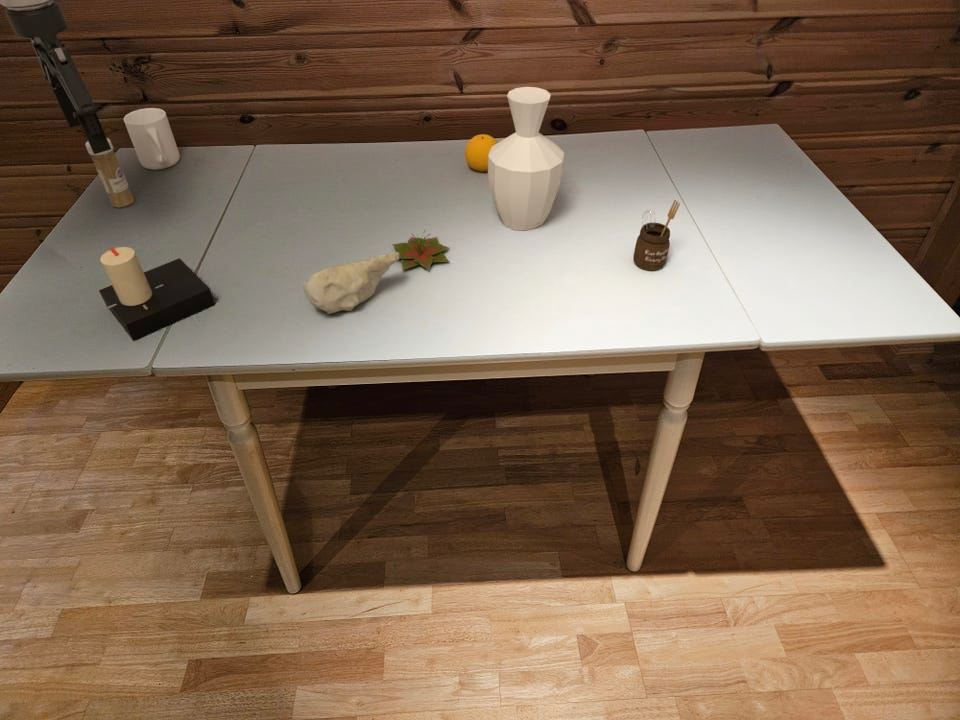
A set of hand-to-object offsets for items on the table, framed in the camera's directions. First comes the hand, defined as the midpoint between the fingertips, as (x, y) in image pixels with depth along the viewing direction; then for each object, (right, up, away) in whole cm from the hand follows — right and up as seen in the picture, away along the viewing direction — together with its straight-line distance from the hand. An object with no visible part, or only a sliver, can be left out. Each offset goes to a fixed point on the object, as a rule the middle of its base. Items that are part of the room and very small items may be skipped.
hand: (89, 137), depth 114 cm
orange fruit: (+69, +4, +34) cm, 77 cm away
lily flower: (+57, -19, +8) cm, 61 cm away
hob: (+14, -30, -2) cm, 33 cm away
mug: (-4, +5, +35) cm, 36 cm away
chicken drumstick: (+46, -28, -1) cm, 54 cm away
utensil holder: (+99, -21, +7) cm, 102 cm away
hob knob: (+11, -28, -6) cm, 31 cm away
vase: (+77, -11, +17) cm, 79 cm away
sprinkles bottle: (-6, -6, +23) cm, 24 cm away
